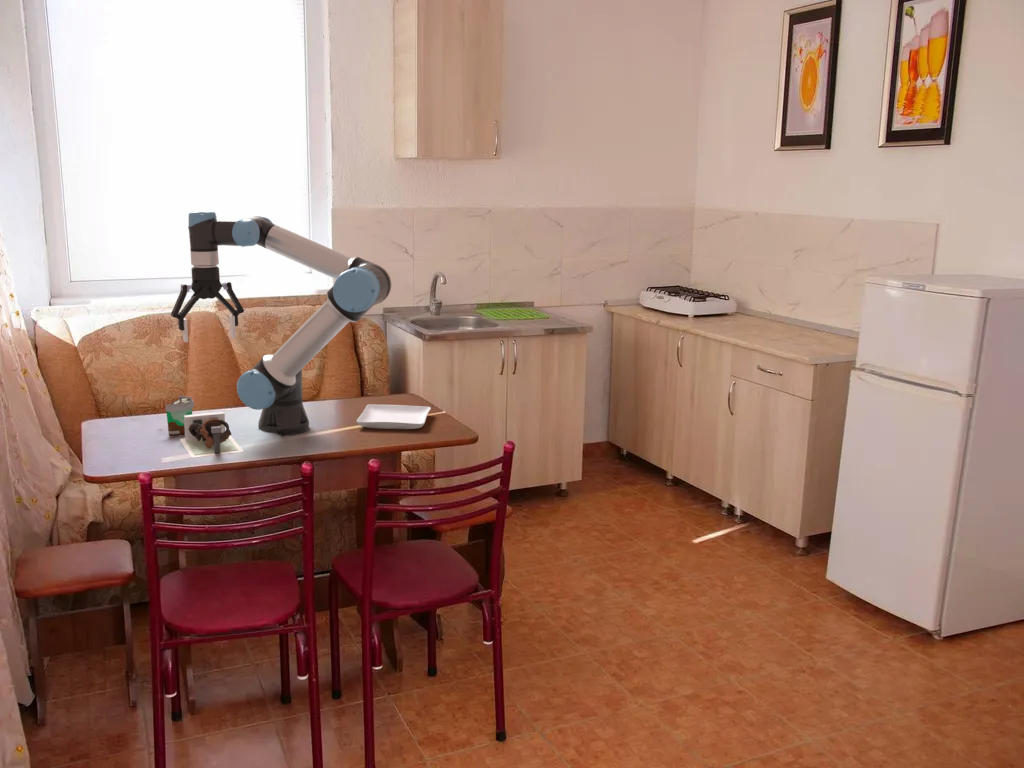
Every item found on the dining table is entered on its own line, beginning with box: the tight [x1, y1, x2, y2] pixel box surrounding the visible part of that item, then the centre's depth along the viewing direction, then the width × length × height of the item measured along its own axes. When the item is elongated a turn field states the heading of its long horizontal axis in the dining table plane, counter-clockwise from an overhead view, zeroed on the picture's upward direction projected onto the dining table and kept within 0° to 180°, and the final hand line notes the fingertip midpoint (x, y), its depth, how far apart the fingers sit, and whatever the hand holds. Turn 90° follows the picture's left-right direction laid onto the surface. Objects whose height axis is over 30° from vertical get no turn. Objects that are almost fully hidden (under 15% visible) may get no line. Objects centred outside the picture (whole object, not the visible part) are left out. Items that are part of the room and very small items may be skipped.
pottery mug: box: [188, 419, 232, 448], centre depth 265 cm, size 12×10×8 cm
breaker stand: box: [179, 411, 245, 458], centre depth 265 cm, size 14×20×8 cm
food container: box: [165, 395, 195, 437], centre depth 280 cm, size 12×6×10 cm, turn 0°
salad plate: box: [356, 403, 432, 430], centre depth 297 cm, size 21×21×3 cm
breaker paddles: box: [193, 418, 218, 431], centre depth 270 cm, size 7×1×3 cm, turn 118°
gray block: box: [211, 426, 221, 455], centre depth 257 cm, size 2×2×8 cm
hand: (209, 339), depth 270 cm, fingers open, 13 cm apart
